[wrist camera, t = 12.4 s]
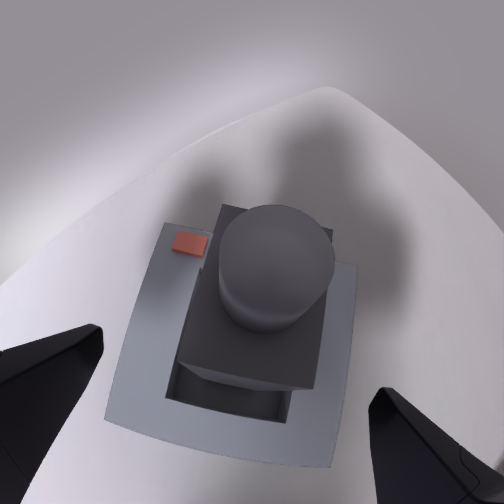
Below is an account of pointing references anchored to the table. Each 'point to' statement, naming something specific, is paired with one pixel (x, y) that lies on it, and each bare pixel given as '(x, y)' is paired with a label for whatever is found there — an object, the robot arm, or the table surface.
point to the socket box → (216, 394)
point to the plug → (260, 300)
